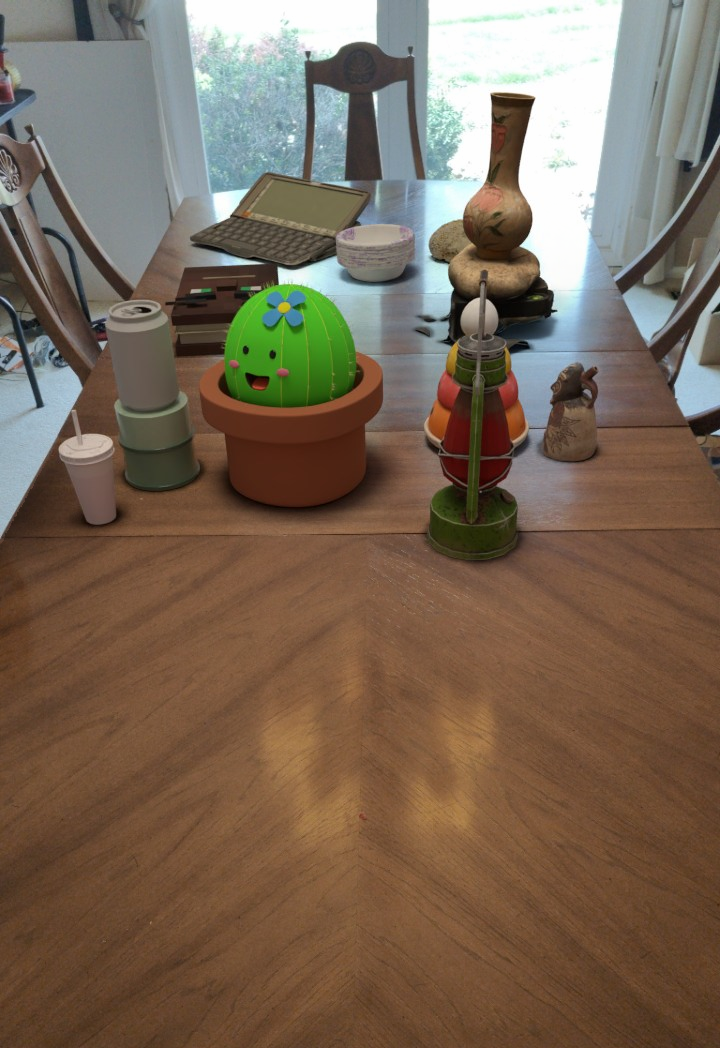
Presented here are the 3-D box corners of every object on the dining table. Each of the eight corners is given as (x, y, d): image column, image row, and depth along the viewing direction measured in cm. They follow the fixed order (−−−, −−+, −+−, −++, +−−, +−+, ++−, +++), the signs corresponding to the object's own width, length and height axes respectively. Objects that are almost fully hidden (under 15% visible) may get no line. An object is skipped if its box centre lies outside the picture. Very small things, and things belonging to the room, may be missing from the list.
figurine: (556, 433, 135) (564, 349, 128) (604, 446, 132) (615, 360, 125) (532, 453, 131) (539, 367, 124) (581, 467, 127) (591, 379, 120)
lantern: (517, 570, 109) (539, 299, 90) (421, 565, 110) (424, 297, 92) (519, 507, 120) (539, 254, 101) (432, 503, 121) (436, 252, 103)
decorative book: (283, 254, 180) (282, 310, 156) (286, 295, 184) (285, 356, 161) (178, 259, 179) (160, 315, 156) (184, 300, 184) (167, 361, 160)
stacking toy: (451, 409, 142) (455, 273, 131) (543, 429, 137) (556, 287, 125) (405, 450, 133) (405, 306, 121) (502, 472, 127) (512, 323, 115)
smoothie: (85, 502, 124) (62, 398, 115) (134, 505, 123) (114, 400, 114) (66, 529, 119) (40, 421, 110) (117, 531, 118) (95, 423, 109)
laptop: (269, 219, 228) (265, 170, 222) (375, 241, 211) (374, 189, 205) (187, 245, 213) (180, 193, 206) (294, 271, 196) (290, 216, 190)
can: (192, 400, 124) (179, 304, 116) (144, 420, 119) (127, 322, 112) (156, 385, 128) (140, 292, 120) (108, 403, 123) (89, 308, 116)
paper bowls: (334, 266, 198) (332, 224, 193) (408, 261, 199) (408, 220, 194) (341, 290, 186) (339, 246, 181) (420, 285, 187) (420, 241, 182)
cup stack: (119, 492, 126) (104, 420, 120) (132, 457, 134) (119, 387, 127) (195, 490, 126) (184, 417, 120) (204, 454, 133) (194, 385, 127)
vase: (586, 330, 166) (612, 96, 144) (484, 362, 156) (497, 116, 135) (495, 295, 181) (506, 79, 160) (397, 321, 172) (396, 96, 150)
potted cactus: (268, 427, 140) (251, 245, 124) (409, 455, 132) (410, 264, 116) (180, 497, 124) (149, 299, 109) (334, 534, 116) (324, 325, 101)
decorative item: (441, 250, 191) (424, 216, 195) (439, 285, 199) (423, 251, 203) (499, 235, 192) (481, 202, 197) (495, 271, 200) (478, 238, 204)
